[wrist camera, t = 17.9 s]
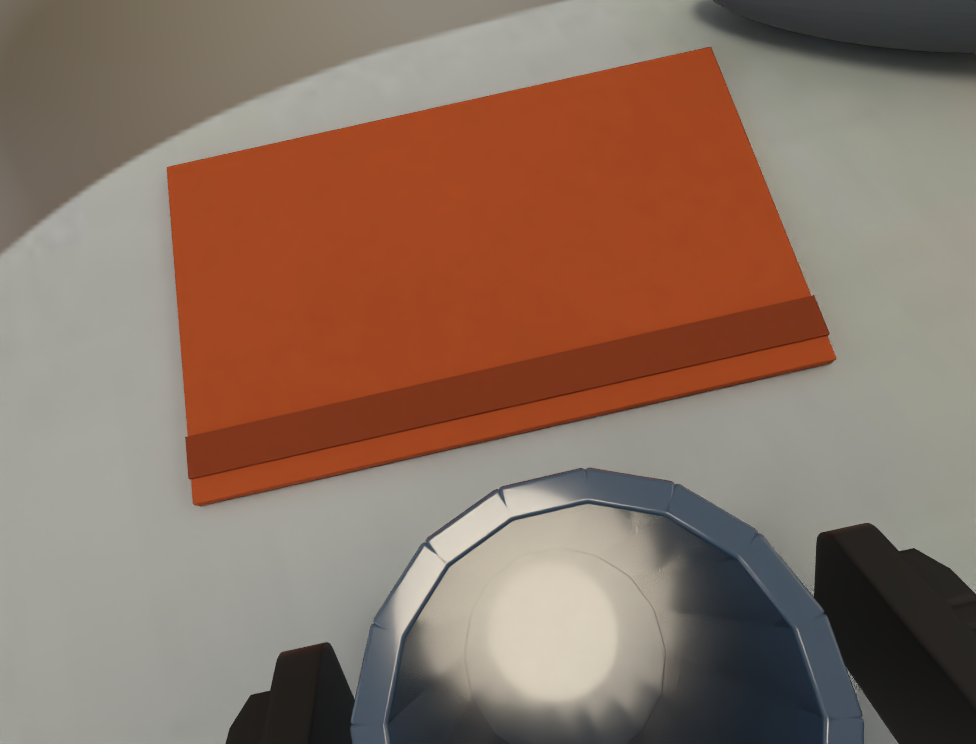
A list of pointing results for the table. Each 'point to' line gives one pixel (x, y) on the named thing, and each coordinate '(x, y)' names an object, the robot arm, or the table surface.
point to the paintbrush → (872, 21)
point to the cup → (601, 628)
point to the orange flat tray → (477, 275)
